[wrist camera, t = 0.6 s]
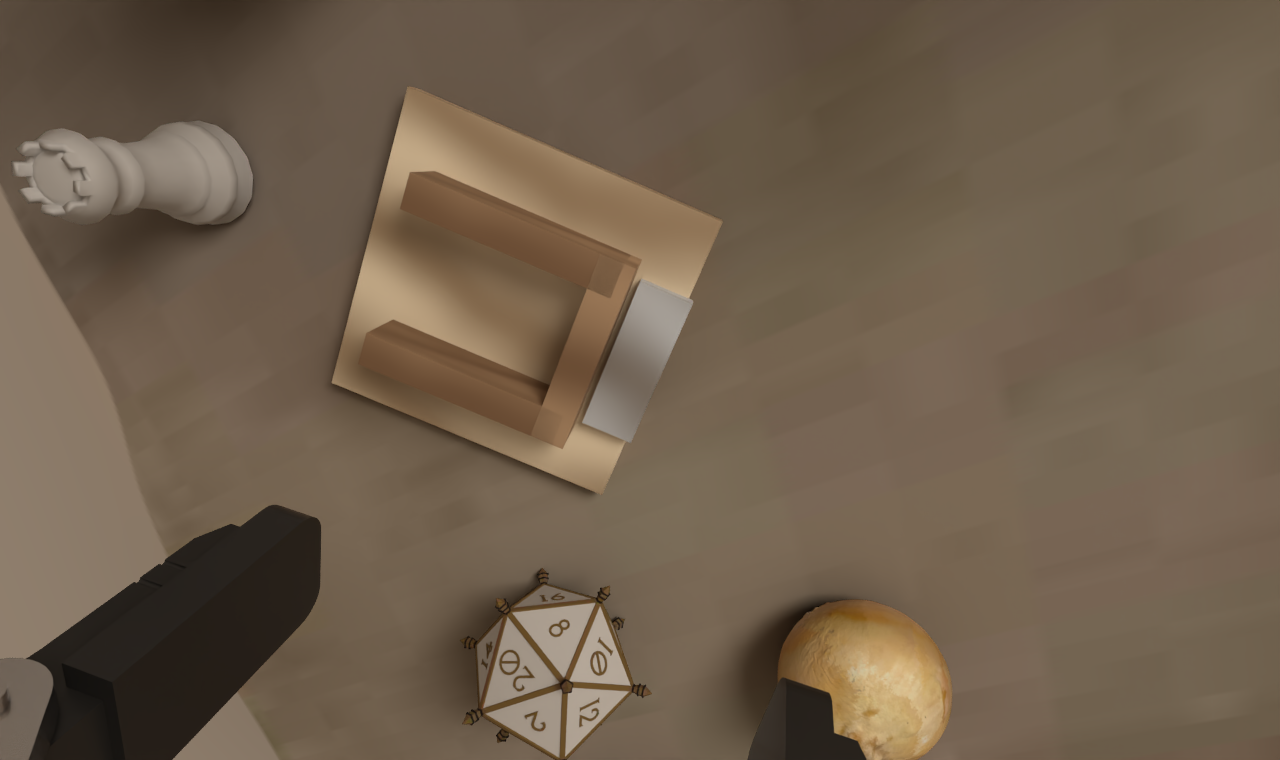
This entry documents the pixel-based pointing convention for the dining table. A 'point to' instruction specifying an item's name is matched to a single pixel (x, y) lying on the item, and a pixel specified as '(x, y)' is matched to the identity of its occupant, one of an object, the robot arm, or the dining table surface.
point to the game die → (551, 669)
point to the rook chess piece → (138, 174)
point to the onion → (873, 676)
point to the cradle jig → (518, 292)
